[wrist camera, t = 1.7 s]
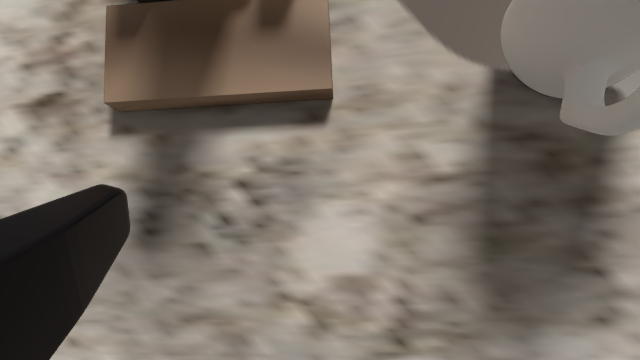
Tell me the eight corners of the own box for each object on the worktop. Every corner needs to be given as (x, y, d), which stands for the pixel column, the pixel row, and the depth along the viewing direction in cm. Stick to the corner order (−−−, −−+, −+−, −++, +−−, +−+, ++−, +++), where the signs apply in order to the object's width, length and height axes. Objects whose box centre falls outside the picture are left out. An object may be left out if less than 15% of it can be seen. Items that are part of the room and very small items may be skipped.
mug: (510, -37, 23) (675, -330, 11) (646, -9, 23) (970, -290, 11) (465, 150, 22) (598, 37, 10) (607, 185, 21) (927, 110, 10)
